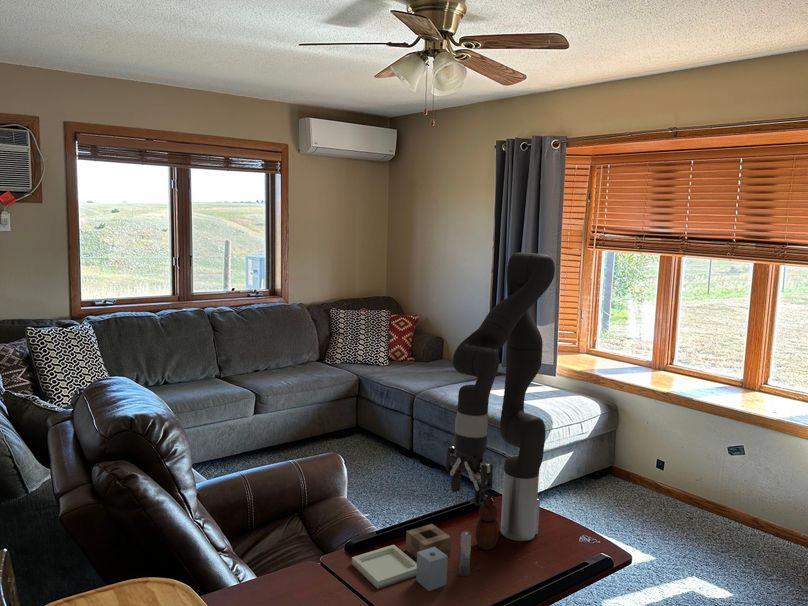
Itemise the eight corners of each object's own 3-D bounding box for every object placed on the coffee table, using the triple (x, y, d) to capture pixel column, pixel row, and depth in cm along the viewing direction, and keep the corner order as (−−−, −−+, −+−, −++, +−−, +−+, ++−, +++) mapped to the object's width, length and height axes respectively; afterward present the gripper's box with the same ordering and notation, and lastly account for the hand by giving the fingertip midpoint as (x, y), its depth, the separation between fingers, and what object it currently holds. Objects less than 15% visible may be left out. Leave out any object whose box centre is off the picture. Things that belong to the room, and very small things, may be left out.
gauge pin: (464, 569, 154) (466, 530, 152) (471, 574, 152) (473, 534, 150) (457, 572, 152) (459, 532, 151) (463, 577, 150) (465, 537, 149)
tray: (393, 551, 161) (393, 544, 161) (421, 574, 151) (421, 566, 151) (351, 564, 154) (351, 557, 154) (377, 589, 144) (378, 581, 144)
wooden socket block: (431, 541, 166) (432, 523, 166) (450, 555, 160) (451, 537, 159) (405, 549, 162) (406, 531, 161) (424, 564, 155) (424, 545, 155)
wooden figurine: (496, 554, 161) (500, 497, 159) (473, 551, 162) (476, 495, 160) (498, 541, 168) (501, 486, 166) (476, 538, 169) (479, 484, 167)
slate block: (433, 574, 151) (434, 546, 150) (446, 584, 147) (447, 556, 146) (416, 580, 148) (417, 551, 148) (428, 591, 144) (430, 561, 143)
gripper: (504, 437, 144) (499, 506, 146) (464, 420, 156) (460, 484, 158) (478, 442, 140) (473, 513, 142) (439, 424, 152) (435, 489, 154)
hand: (466, 497), depth 150 cm, fingers open, 8 cm apart
